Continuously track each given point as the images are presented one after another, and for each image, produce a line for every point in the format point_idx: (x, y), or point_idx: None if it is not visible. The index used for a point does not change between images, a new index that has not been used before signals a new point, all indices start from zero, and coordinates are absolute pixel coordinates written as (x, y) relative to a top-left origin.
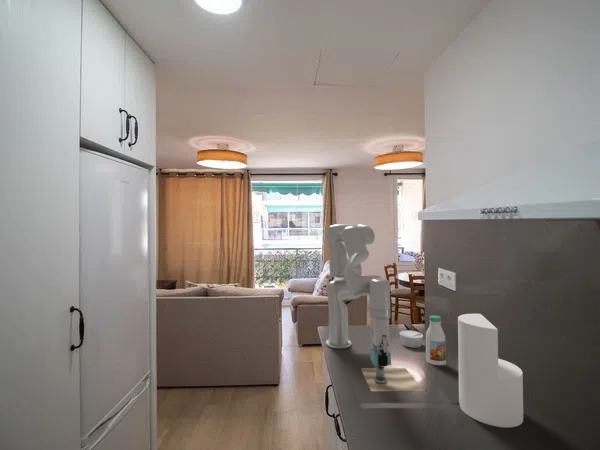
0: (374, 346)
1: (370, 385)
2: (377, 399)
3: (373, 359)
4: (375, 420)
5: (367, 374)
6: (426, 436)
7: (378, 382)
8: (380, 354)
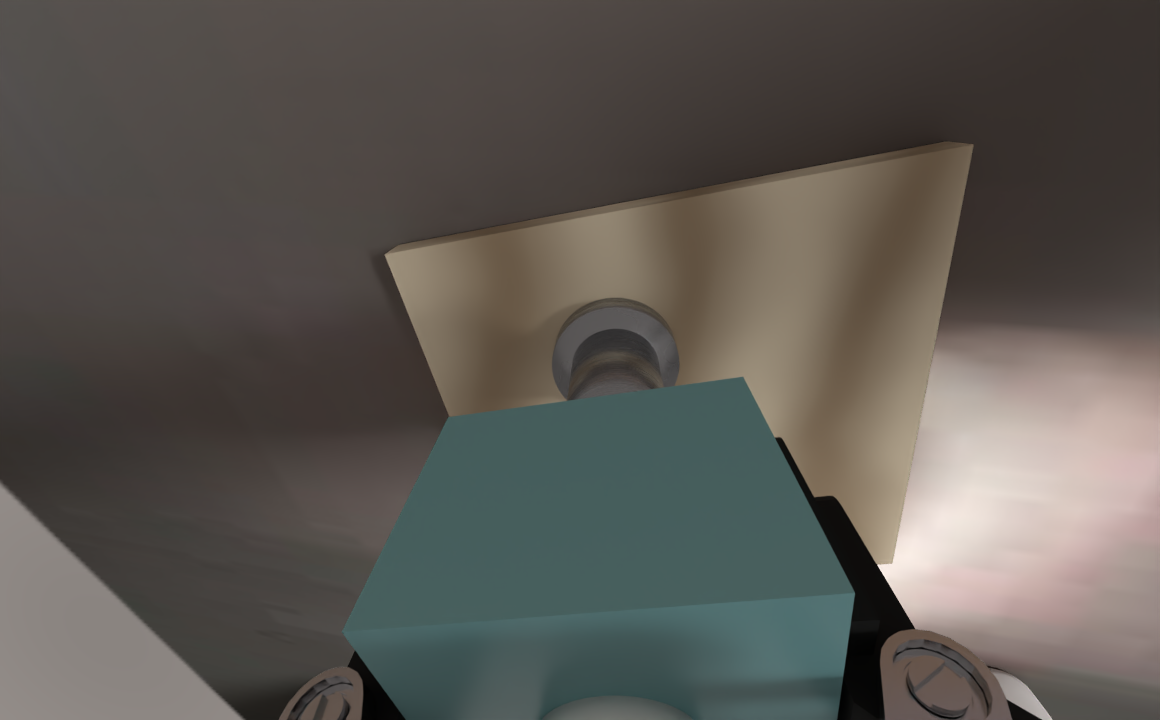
0: (882, 666)
1: (503, 253)
2: (340, 293)
3: (485, 464)
4: (20, 255)
5: (773, 231)
6: (79, 505)
7: (556, 339)
8: (296, 713)
